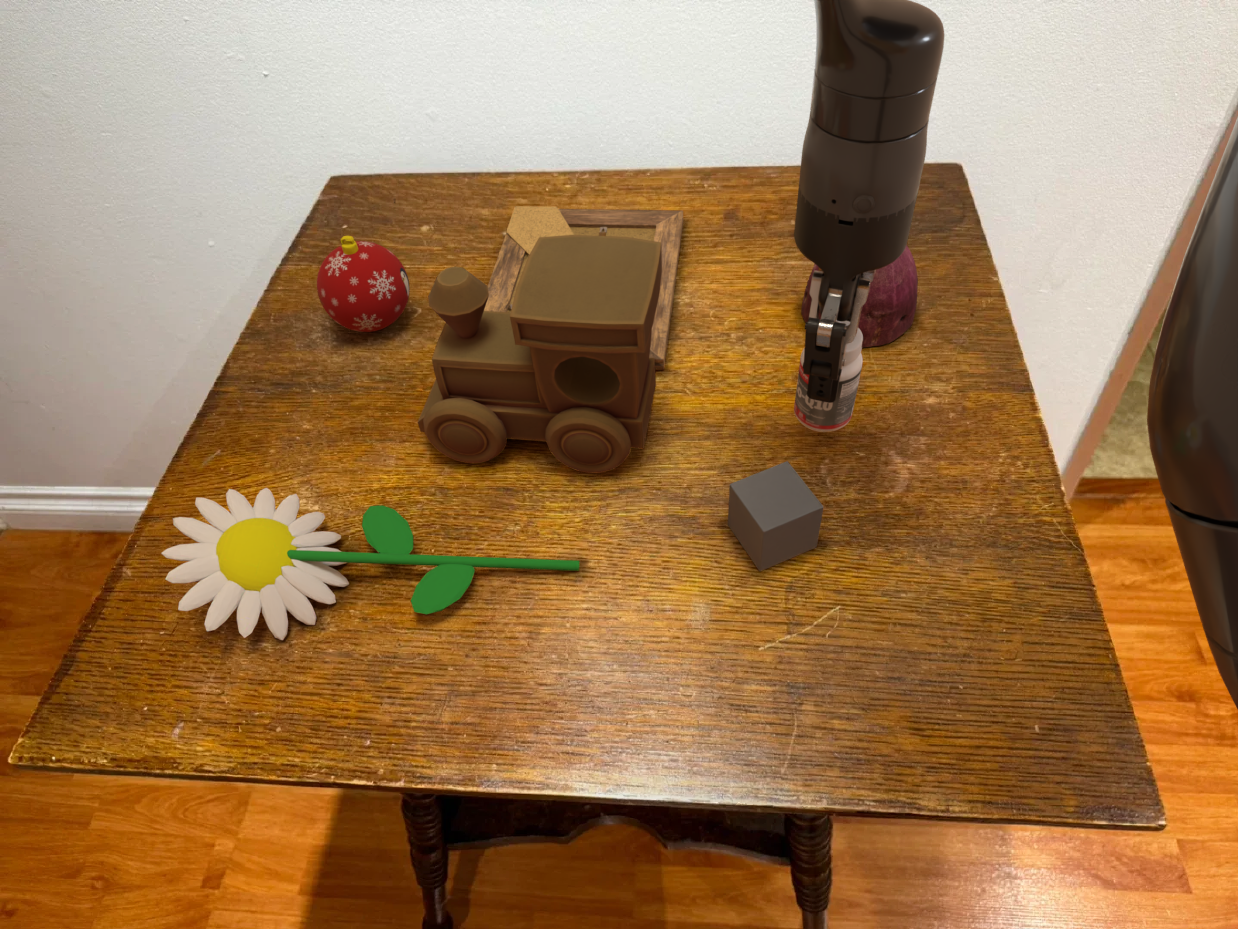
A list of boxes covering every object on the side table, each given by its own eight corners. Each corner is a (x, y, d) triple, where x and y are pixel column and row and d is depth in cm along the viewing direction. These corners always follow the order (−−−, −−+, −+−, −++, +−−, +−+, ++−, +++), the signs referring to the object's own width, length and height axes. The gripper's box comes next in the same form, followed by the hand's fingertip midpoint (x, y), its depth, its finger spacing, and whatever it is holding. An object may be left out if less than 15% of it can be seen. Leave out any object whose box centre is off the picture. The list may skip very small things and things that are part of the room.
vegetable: (883, 381, 83) (919, 285, 70) (782, 338, 86) (798, 237, 72) (927, 298, 87) (970, 191, 73) (829, 259, 89) (852, 149, 76)
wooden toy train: (669, 389, 80) (665, 231, 67) (652, 486, 73) (643, 329, 60) (457, 374, 83) (414, 221, 70) (420, 466, 76) (365, 314, 63)
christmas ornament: (344, 295, 92) (312, 211, 85) (425, 293, 91) (401, 208, 84) (323, 351, 86) (287, 266, 79) (409, 349, 86) (382, 263, 78)
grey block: (817, 547, 68) (824, 506, 64) (759, 572, 66) (763, 532, 63) (782, 501, 71) (787, 460, 67) (727, 524, 70) (729, 483, 66)
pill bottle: (781, 413, 73) (789, 336, 67) (818, 384, 75) (829, 306, 69) (827, 442, 71) (840, 365, 65) (864, 412, 73) (880, 333, 67)
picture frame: (517, 219, 99) (467, 364, 84) (514, 205, 98) (463, 350, 82) (683, 222, 97) (664, 371, 81) (683, 208, 95) (663, 357, 80)
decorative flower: (580, 518, 74) (209, 503, 72) (582, 483, 70) (191, 467, 68) (575, 660, 66) (159, 647, 64) (577, 629, 62) (135, 615, 60)
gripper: (824, 119, 62) (802, 310, 75) (773, 234, 54) (758, 428, 67) (934, 132, 60) (892, 326, 73) (900, 254, 52) (859, 450, 65)
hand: (828, 374), depth 70 cm, fingers closed on pill bottle, 4 cm apart
